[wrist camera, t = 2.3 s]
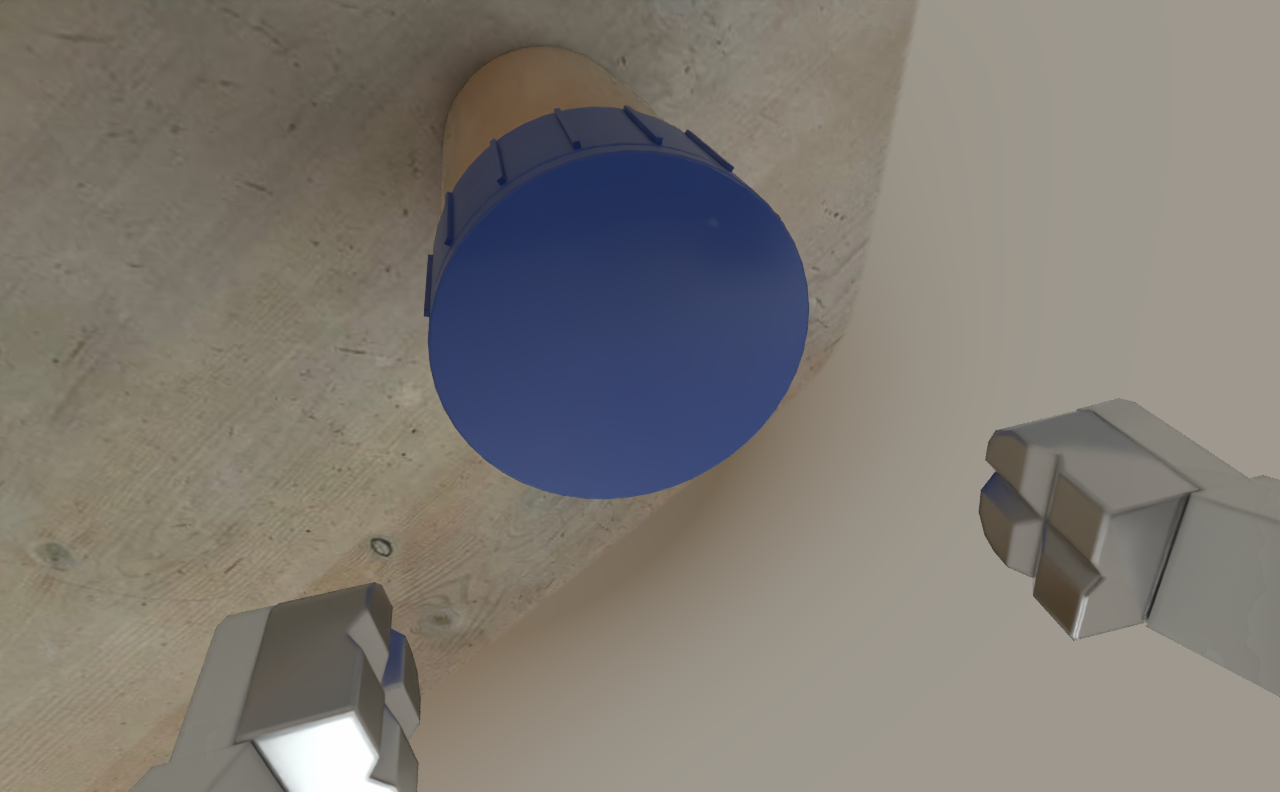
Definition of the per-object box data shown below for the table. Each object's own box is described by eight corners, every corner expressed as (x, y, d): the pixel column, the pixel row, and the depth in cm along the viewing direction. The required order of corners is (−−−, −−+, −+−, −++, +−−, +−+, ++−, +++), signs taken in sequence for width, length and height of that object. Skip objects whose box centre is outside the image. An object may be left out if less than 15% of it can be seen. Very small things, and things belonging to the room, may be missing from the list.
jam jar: (476, 10, 20) (501, 86, 10) (675, 93, 22) (855, 223, 12) (419, 217, 23) (394, 442, 13) (603, 274, 25) (705, 504, 15)
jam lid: (486, 46, 12) (496, 79, 10) (799, 173, 15) (879, 228, 12) (394, 366, 15) (381, 463, 12) (673, 432, 17) (715, 527, 15)
